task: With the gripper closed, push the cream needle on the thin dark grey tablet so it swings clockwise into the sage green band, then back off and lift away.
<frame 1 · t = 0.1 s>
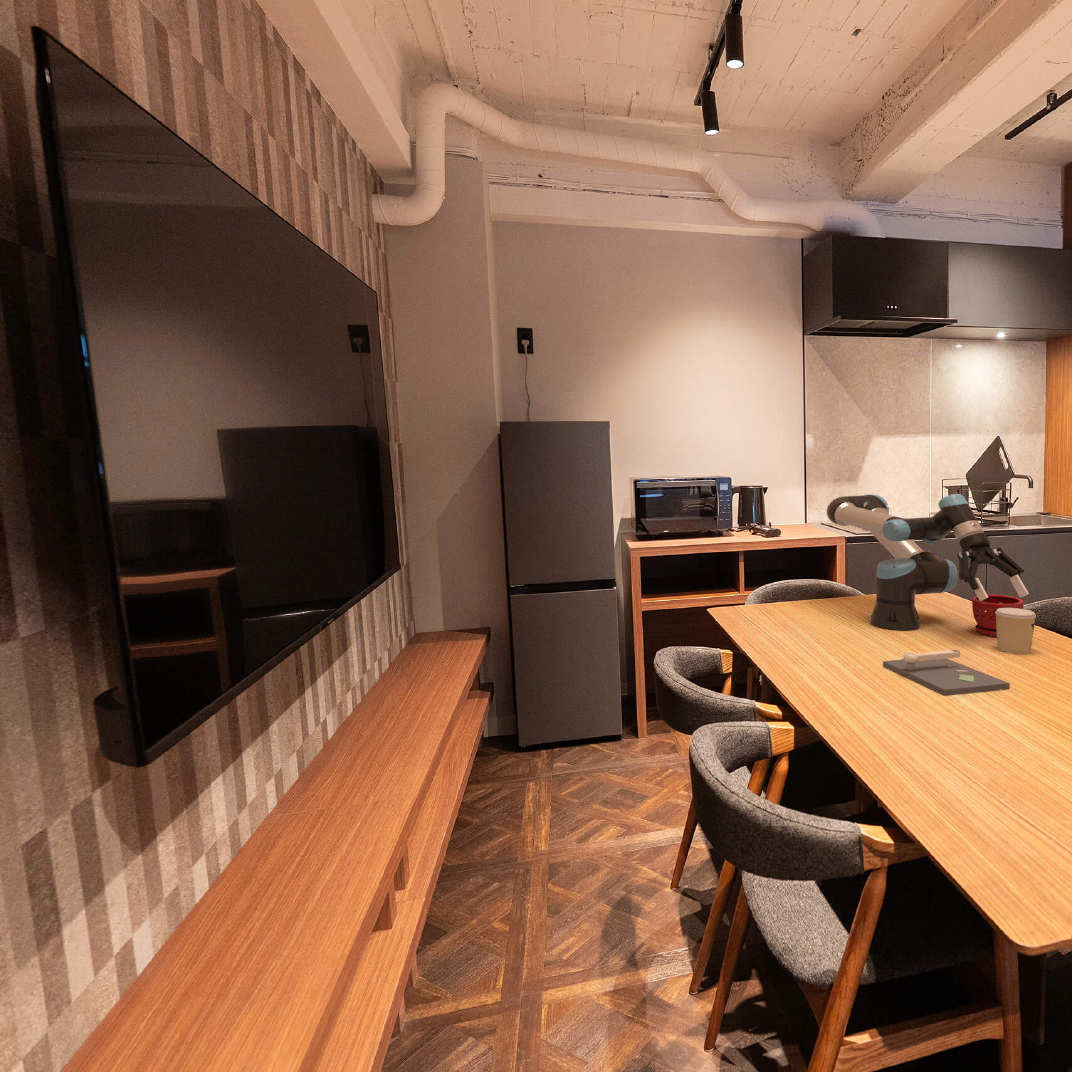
hand: (1004, 597, 176), 15 cm above the table, tool tilted 35°, fingers open, 13 cm apart
plant pot: (996, 634, 189), on the table
tuner needle: (931, 655, 158), point 5 cm above the table, hinge at 0.0°
thin dark grey tablet: (942, 676, 156), on the table
coffee cup: (1013, 650, 173), on the table
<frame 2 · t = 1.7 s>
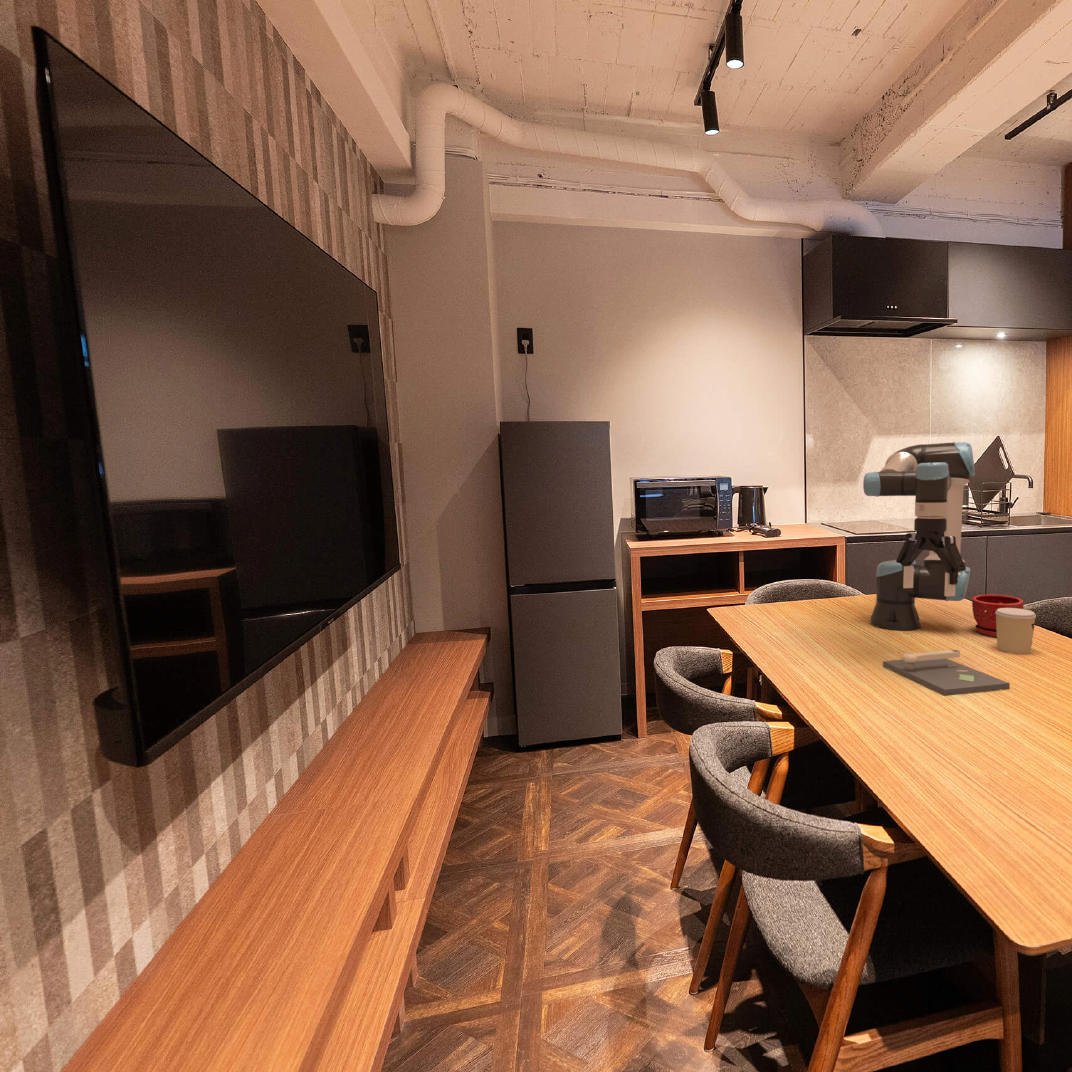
hand: (928, 591, 163), 21 cm above the table, tool pointing down, fingers open, 13 cm apart
nothing on the table moved.
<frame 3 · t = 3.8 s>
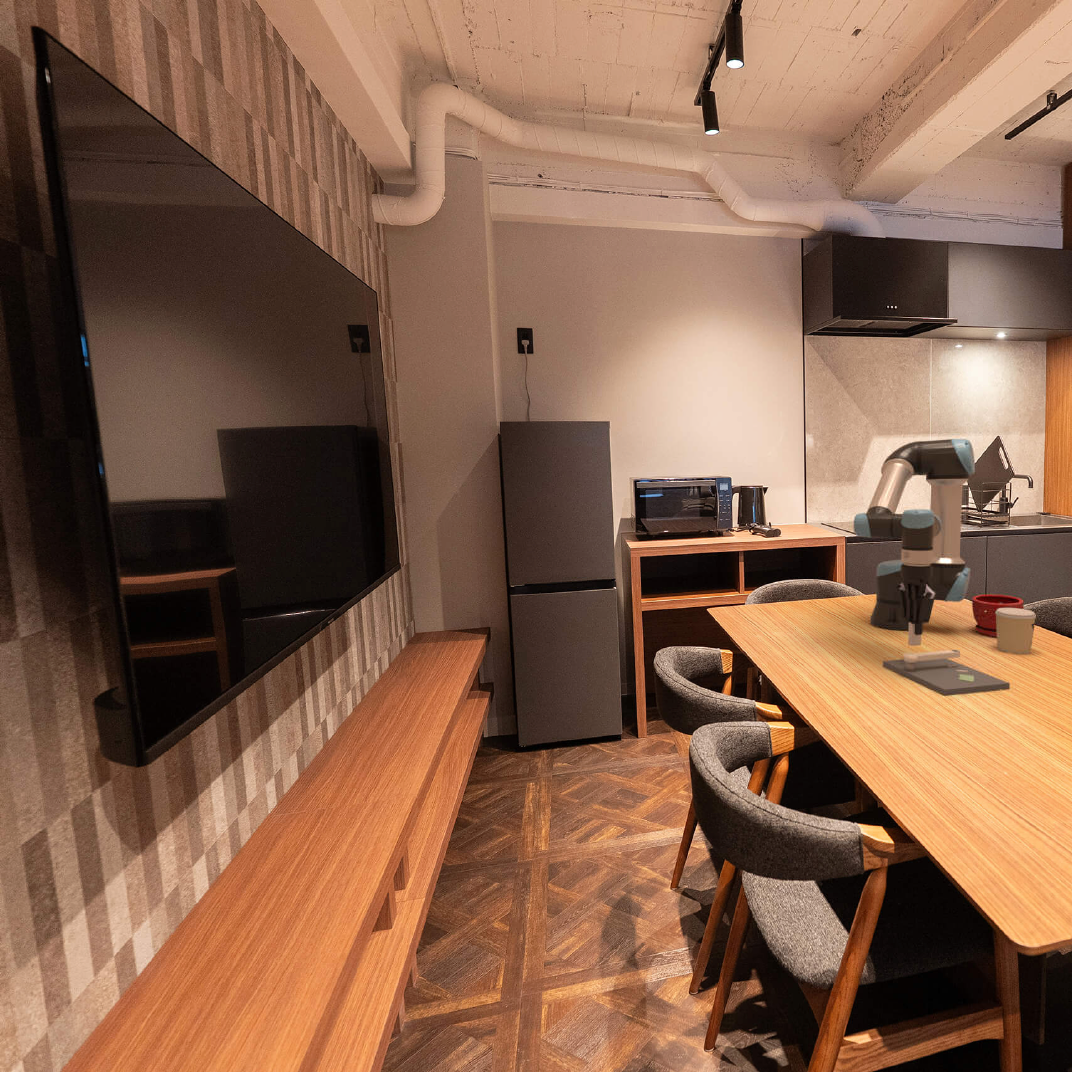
hand: (914, 644, 165), 6 cm above the table, tool pointing down, fingers closed
nothing on the table moved.
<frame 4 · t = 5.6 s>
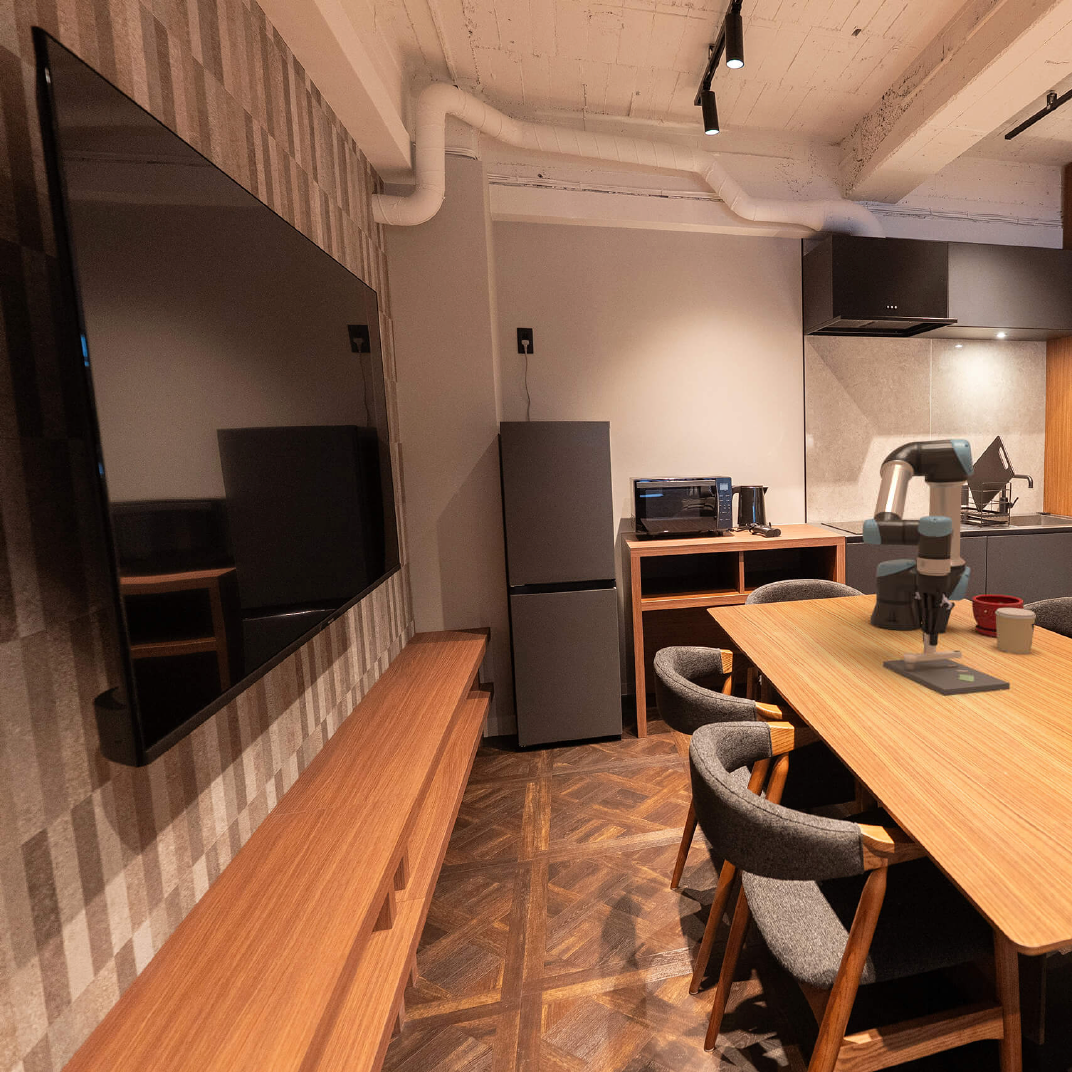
hand: (929, 655, 160), 5 cm above the table, tool pointing down, fingers closed
tuner needle: (932, 656, 158), point 5 cm above the table, hinge at 2.1°, touching gripper
everything else where it was.
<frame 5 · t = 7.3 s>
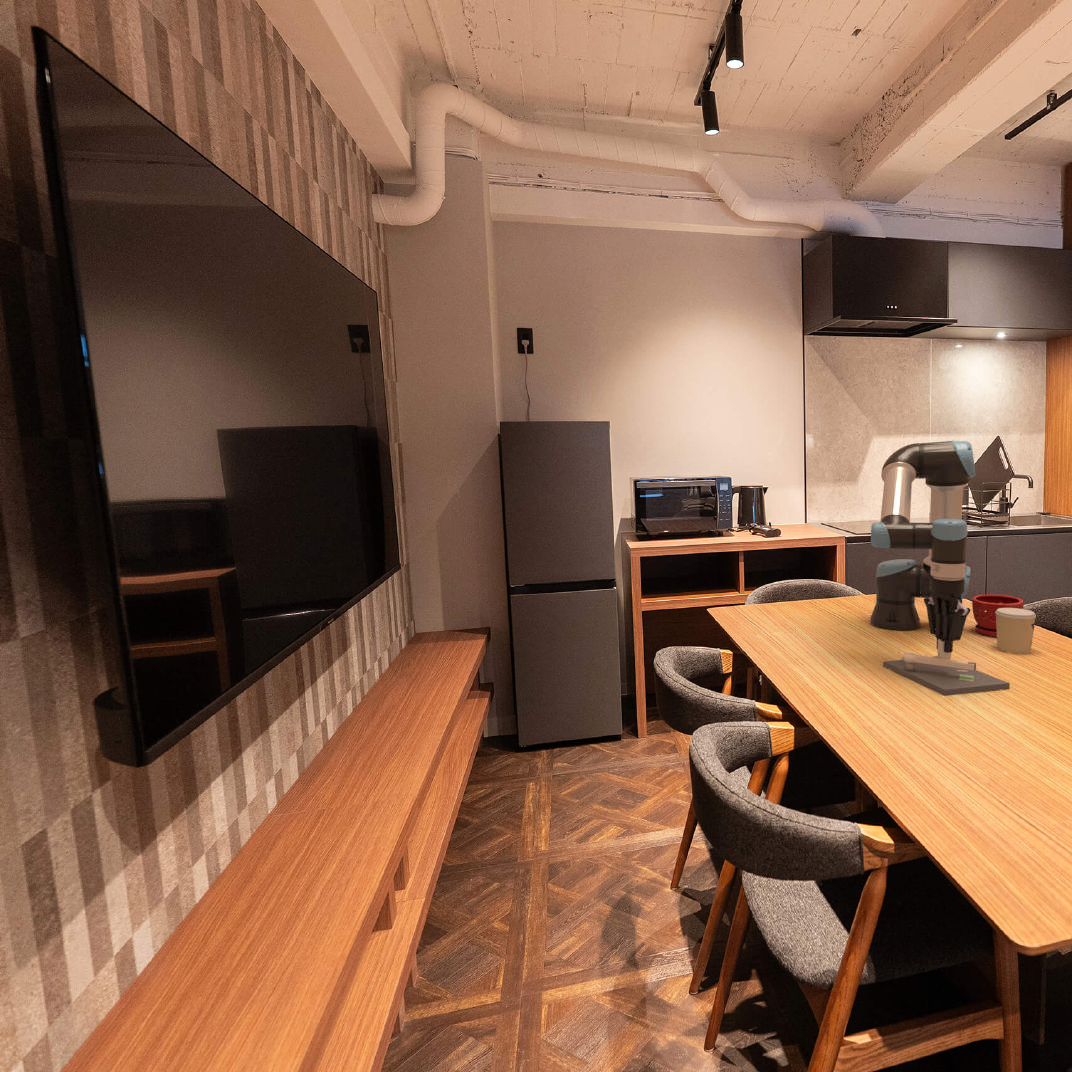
hand: (943, 662, 155), 4 cm above the table, tool pointing down, fingers closed
tuner needle: (938, 661, 154), point 5 cm above the table, hinge at 44.3°, touching gripper
everything else where it was.
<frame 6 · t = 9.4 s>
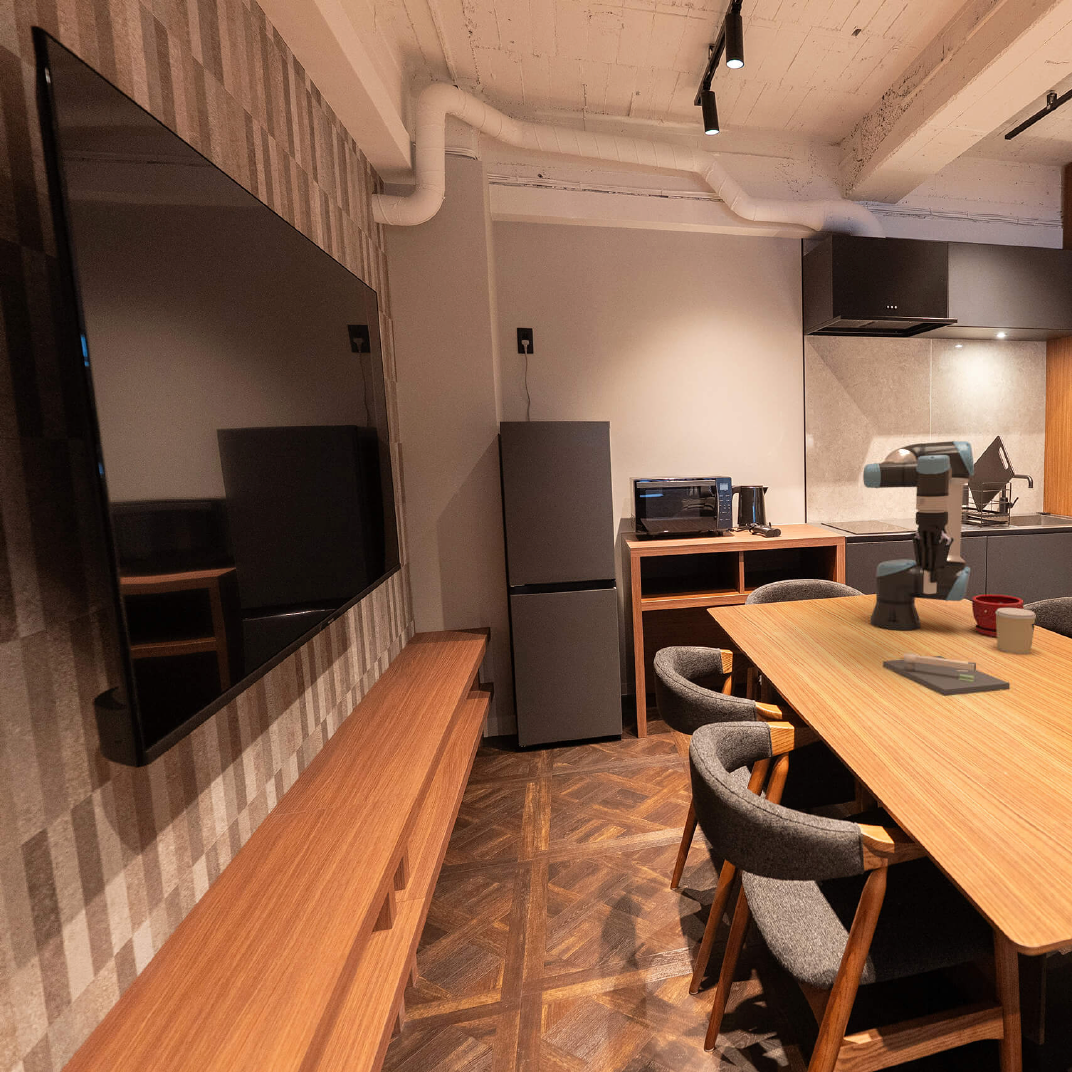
hand: (929, 592, 163), 21 cm above the table, tool pointing down, fingers closed
tuner needle: (938, 661, 154), point 5 cm above the table, hinge at 44.3°
everything else where it was.
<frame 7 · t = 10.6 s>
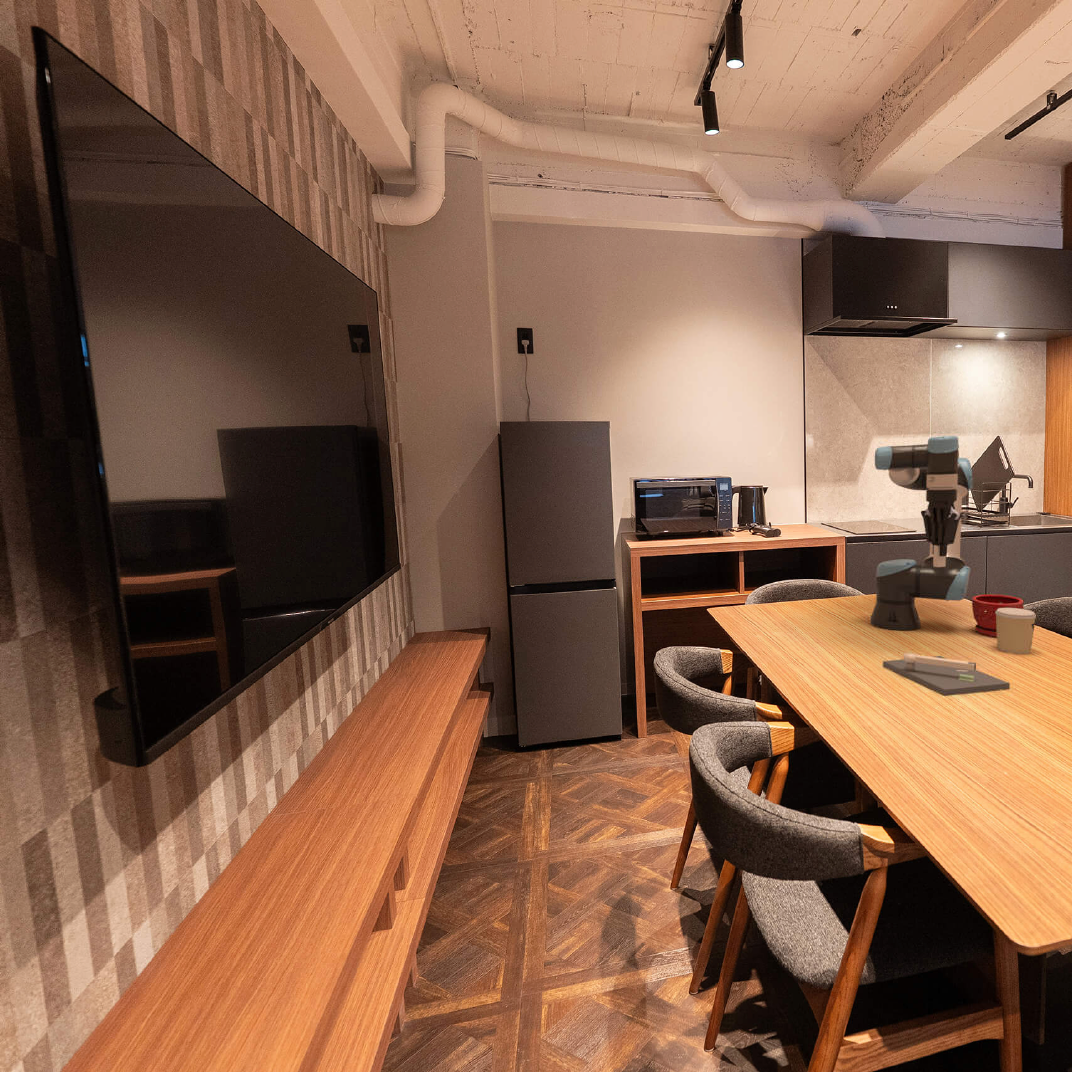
hand: (939, 566, 173), 26 cm above the table, tool pointing down, fingers closed
nothing on the table moved.
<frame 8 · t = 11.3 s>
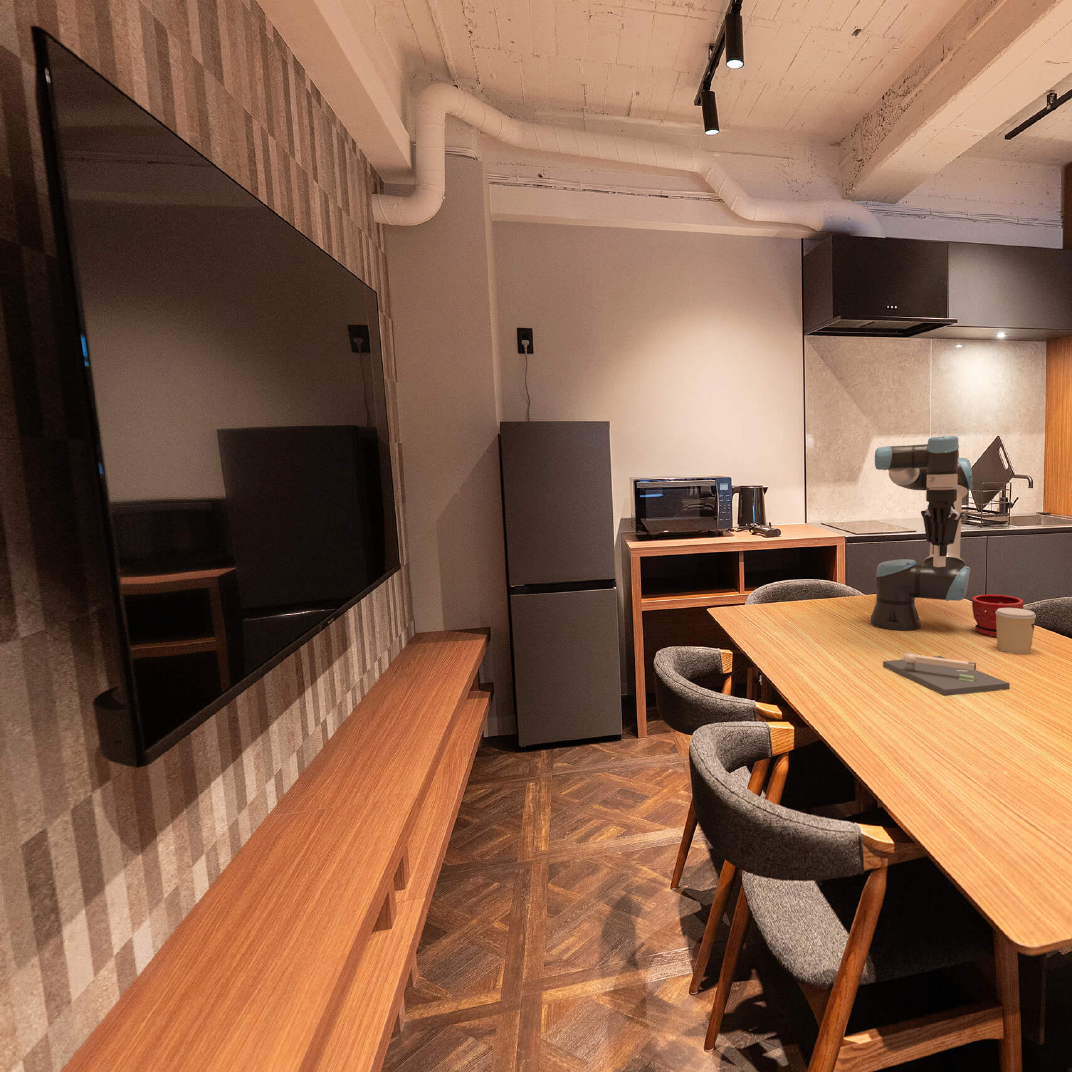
hand: (939, 566, 173), 26 cm above the table, tool pointing down, fingers closed
nothing on the table moved.
at the end: tuner needle at +44° (first picture: +0°) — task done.
